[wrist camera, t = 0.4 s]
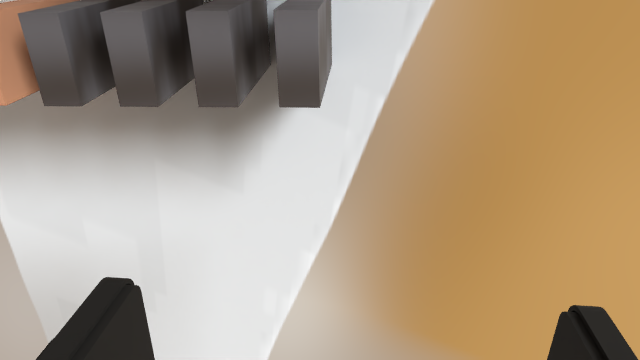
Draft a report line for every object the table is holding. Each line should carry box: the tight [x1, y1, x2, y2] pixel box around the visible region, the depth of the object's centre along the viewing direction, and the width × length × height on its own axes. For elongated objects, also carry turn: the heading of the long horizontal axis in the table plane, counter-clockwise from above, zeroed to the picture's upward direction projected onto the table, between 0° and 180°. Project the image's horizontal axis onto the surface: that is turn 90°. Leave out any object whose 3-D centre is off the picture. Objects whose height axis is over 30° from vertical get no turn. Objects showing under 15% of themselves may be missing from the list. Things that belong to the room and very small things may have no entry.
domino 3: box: [186, 0, 271, 107], centre depth 29 cm, size 5×2×10 cm, turn 1°
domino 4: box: [274, 0, 332, 108], centre depth 29 cm, size 5×2×10 cm, turn 1°
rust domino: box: [0, 0, 79, 106], centre depth 31 cm, size 5×2×10 cm, turn 1°
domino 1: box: [17, 0, 141, 106], centre depth 30 cm, size 5×2×10 cm, turn 1°
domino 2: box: [100, 0, 203, 107], centre depth 30 cm, size 5×2×10 cm, turn 1°
